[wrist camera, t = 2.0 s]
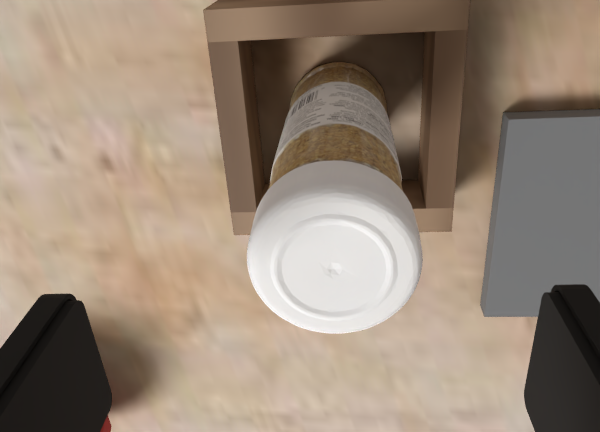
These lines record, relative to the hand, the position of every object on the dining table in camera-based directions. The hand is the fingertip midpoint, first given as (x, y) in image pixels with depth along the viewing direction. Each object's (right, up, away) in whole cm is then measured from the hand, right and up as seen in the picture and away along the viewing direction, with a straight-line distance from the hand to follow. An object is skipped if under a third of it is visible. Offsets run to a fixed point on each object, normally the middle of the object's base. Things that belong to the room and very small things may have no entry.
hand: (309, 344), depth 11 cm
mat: (+15, +3, +16) cm, 22 cm away
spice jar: (+2, +8, +15) cm, 17 cm away
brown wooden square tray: (+2, +8, +14) cm, 16 cm away
